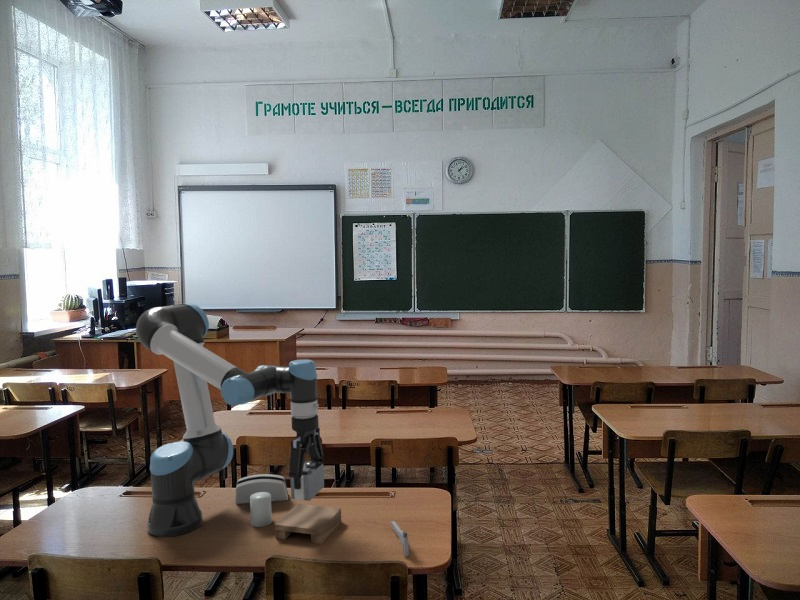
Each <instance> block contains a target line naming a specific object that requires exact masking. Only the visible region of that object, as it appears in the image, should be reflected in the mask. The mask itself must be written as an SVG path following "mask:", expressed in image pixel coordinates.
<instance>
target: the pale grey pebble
mask: <svg viewBox="0 0 800 600" xmlns="http://www.w3.org/2000/svg"><path fill="white" fill-rule="evenodd" d="M249 506H250V507H249V508H250V525H251V526H253V527H256V528H263V527H267V526H269V525H270V524H271V523H273V518H272V516H273V515H272V501H271V494H270V493H268V492H258V493H254V494H252V495H251V496H250V503H249Z"/></svg>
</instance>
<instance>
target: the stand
mask: <svg viewBox="0 0 800 600" xmlns="http://www.w3.org/2000/svg"><path fill="white" fill-rule="evenodd" d="M341 523H342V508H341V507H340V508H339V507H330V506H322V505H321V506H320V505H313V504H302V503H297V504H296V505H295V506H294V507H292V509H290V510H289V511H288V512H287V513H286V514H285V515H283V517H281V518H280V519H279V520H277V522H276V523H275V524H274V534H275V536H274V537H275V539H277V540H280V539H281V540H286V539H287V538H288V537H289V536H290V535H291V534H292V533H299V534H300V533H301V534H308V535H310V539H311V544H317V545H322V544H323V543H324V542H326V540H327V538H328V537H329V536H330V535H332V533H333V532H334V531H335V529H336V528H338V526H339V525H340V524H341Z"/></svg>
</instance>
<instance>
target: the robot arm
mask: <svg viewBox="0 0 800 600" xmlns="http://www.w3.org/2000/svg"><path fill="white" fill-rule="evenodd" d="M209 327H210V321H209V318H208V316H207V314H206V312H205V311H204V310H203V309H202V308H201V307H200V306H199V305H197V304H193V303H179V304H173V305H165V306H155V307H151V308H149V309H147V310H145V311H144V312H143V313H142V314H141V315H140V316H139V318H138V319H137V322H136V327H135V331H136V332H135V333H136V336H137V339H138V340H139V342H140V343H141V345H142V346H143V347H144V348H146V349H147V350H149V351H150V352H151V353H153V354H155V355H163V356H165V357H167V358H168V359H170V360H171V361H173V362H172V363H173V365H174V371H175V377H176V381H177V386H178V387H177V388H178V392H179V396H180V402H181V407H182V411H183V418H184V423H185V428H186V431H185V433H184V434H183V436H182V440H183V441H173V442H172V443H166V444H163V445H161V446H159V447H157V448H156V449H155V450H154V451H152V453H151V454H150V459H149V460H150V462H149V463H150V464H149V471H150V484H151V497H152V504H151V507H150V512H149V515H148V519H147V532H148V534H150V535H152V536H155V537H160V538H162V537H163V538H164V537H165V538H167V537H175V536H181V535H184V534H186V533H189V532H192V531H194V530H195V529H197V528H198V527H200V526H201V525H202V522H203V512H202V510H201V509H200V506H199V504H198V501H197V498H196V495H195V493H196V491H195V483H197V482H198V481H201V480H202V479H206V478H208V477H209V476H212V475H213V474H217V473H219V472H220V471H222V470H224V469H225V468H226V467H227V466H228V465H229V464H230V463H231V461H232V459H233V456H234V445H233V442H232V439H231V438H230V437H229V436H228V435H227V433H225V432H223V431H222V427H221V426H219V425H218V424H216V421H215V417H214V410H213V407H212V401H211V395H210V391H209V390H210V389H209V386H208V383H209V384H210V385H212V386H213V387H215V388H217V389H218V390H220V395H221V398H222V399H223V400H224V402H225V404H227V405H229V406H232V407H233V406H234V407H236V406H239V405H240V406H241V405H246V404H248V403H250V402H252V401H255V400H258V399H261V398H263V397H266V396H267V397H268V396H270V395H273V394H276V393H277V394H279V393H280V394H289V396H290V397H289V398H290V414H291V429H292V431H294V432H295V433H296V436H295V439H293V440H292V439H291V440H290V457H289V470H288V477H289V478H290V477H292V478H294V496H295V499H294V500H298V501H305V500H304V499H305V494H304V476H302V472H303V467H304V463H305V462H306V461H305V460H306V457H307V456H306V455H307V454H308V453H309V457H310V459H311V461H314V462H315V463H323V462H324V451H323V446H322V445H323V444H322V439H321V433H320V431H321V430H320V427H319V423H320V422H319V415H318V413H319V403H318V388H317V387H318V386H317V385H318V383H317V382H318V374H317V367H316V366H317V365H316V362H315V361H313V360H312V359H294V360H291V361H290V362H289V364H288V366H283V365H282V366H281V365H274V364H273V365H272V364H267V365H266V364H265V365H263V364H262V365H259V366H257V367H256V369H254V370H253V371H251V372H246V371H244V370H243V369H241V368H239V367H237V366H236V365H234V364H233V363H231V362H228V361H227V360H226V359H224V358H222V357H220V356H219V355H218V354H216V353H214V352H213V351H210V350H209V349H207V348H206V347H204V345H205V336H206V335H207V334H208V330H209V329H210V328H209Z"/></svg>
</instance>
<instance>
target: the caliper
mask: <svg viewBox="0 0 800 600" xmlns="http://www.w3.org/2000/svg"><path fill="white" fill-rule="evenodd" d="M389 523H390V525H391V528H392V530H393V531H394V532H395V534H396V535H397V537H398V538H399V542H400V544H401V545H402V553H403V555H404V558H407V557H410V554H409V553H410V551H409V539H408V538H409V537H408V532H407V531H406V530H405V531H404V530H402V529H401V528H400V526H399V525H398V524H397V522H396V521H395V520H392V521H390V522H389Z"/></svg>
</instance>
